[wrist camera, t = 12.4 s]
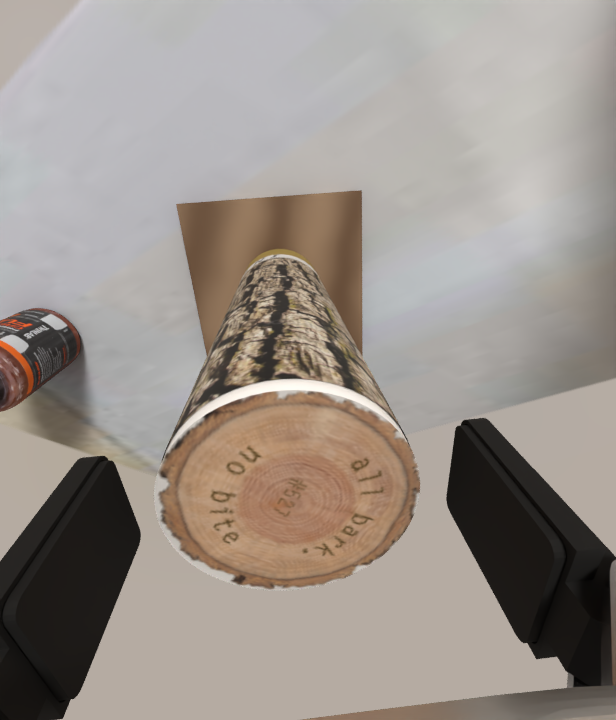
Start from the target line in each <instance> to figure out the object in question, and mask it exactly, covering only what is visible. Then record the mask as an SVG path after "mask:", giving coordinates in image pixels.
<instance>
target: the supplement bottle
mask: <svg viewBox="0 0 616 720" xmlns="http://www.w3.org/2000/svg"><path fill="white" fill-rule="evenodd" d="M79 351H80V338H79V334H78V333H77V330H76V329H75V327H74V326H73V325H72V323H70V322H69V321H68V320H67V319H66V318H65V317H63V316H62V315H60V314H58V313H56V312H55V311H51V310H48V309H41V308H34V309H29V310H25V311H22V312H19V313H17V314H14V315H13V316H10V317H8V318H6V319H3V320H1V321H0V412H1V411H5V410H8V409H10V408H12V407H14V406H16V405H18V404H19V403H20V402H22V401H23V400H24V399H26V398H27V397H28V396H30V395H31V394H32V393H33V392H35V391H36V390H37V389H38V388H40V387H41V386H42V385H44V384H45V383H46V382H47V381H49V380H50V379H51V378H53V377H54V376H55V375H56V374H58V373H59V372H60V371H62V370H63V369H64V368H65V367H67V366H68V365H69V364H70V363H71V362H72V361H73V360H74V359H75V358H76V357H77V355H78V354H79Z"/></svg>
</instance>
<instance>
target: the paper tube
mask: <svg viewBox="0 0 616 720" xmlns="http://www.w3.org/2000/svg"><path fill="white" fill-rule="evenodd" d="M419 493H420V477H419V470H418V466H417V462H416V459H415V457H414V454H413V452H412V450H411V448H410V445H409V443H408V440H407V438H406V436H405V434H404V432H403V431H402V429H401V427H400V425H399V423H398V421H397V420H396V418H395V416H394V414H393V412H392V410H391V409H390V407H389V405H388V403H387V401H386V399H385V397H384V396H383V394H382V392H381V390H380V388H379V386H378V385H377V383H376V381H375V379H374V377H373V375H372V374H371V372H370V370H369V368H368V366H367V364H366V362H365V361H364V359H363V357H362V355H361V353H360V351H359V350H358V348H357V346H356V344H355V342H354V340H353V339H352V337H351V335H350V333H349V331H348V329H347V327H346V326H345V324H344V322H343V320H342V318H341V316H340V315H339V313H338V311H337V309H336V307H335V305H334V304H333V302H332V300H331V298H330V296H329V294H328V293H327V291H326V289H325V287H324V285H323V283H322V281H321V280H320V278H319V276H318V274H317V273H316V271H315V269H314V267H313V266H312V265H311V263H310V262H309V261H308V260H307V259H306V258H305V257H303V256H302V255H300V254H299V253H296V252H294V251H291V250H287V249H273V250H269V251H266V252H264V253H262V254H260V255H259V256H257V257H256V258H255V259H254V260H253V261H252V262H251V263H250V264H249V265H248V267H247V269H246V271H245V273H244V275H243V277H242V279H241V282H240V283H239V286H238V288H237V290H236V292H235V295H234V297H233V299H232V301H231V304H230V306H229V308H228V310H227V313H226V315H225V317H224V319H223V322H222V324H221V326H220V328H219V331H218V333H217V335H216V337H215V340H214V342H213V344H212V346H211V349H210V351H209V353H208V355H207V358H206V360H205V362H204V365H203V367H202V369H201V371H200V374H199V376H198V378H197V380H196V383H195V385H194V387H193V389H192V392H191V394H190V396H189V398H188V401H187V403H186V405H185V407H184V410H183V412H182V414H181V416H180V419H179V421H178V423H177V425H176V428H175V430H174V432H173V434H172V437H171V439H170V441H169V443H168V446H167V448H166V450H165V453H164V456H163V459H162V462H161V465H160V468H159V470H158V473H157V477H156V482H155V488H154V504H155V510H156V515H157V519H158V521H159V524H160V527H161V529H162V531H163V533H164V534H165V536H166V538H167V539H168V541H169V542H170V544H171V545H172V546H173V547H174V549H175V550H176V551H177V552H178V553H179V554H180V555H181V556H182V557H183V558H185V559H186V560H187V561H188V562H189V563H191V564H192V565H194V566H195V567H197V568H198V569H200V570H201V571H203V572H205V573H206V574H209V575H211V576H213V577H215V578H217V579H220V580H222V581H225V582H228V583H231V584H235V585H239V586H243V587H248V588H254V589H261V590H298V589H305V588H311V587H316V586H321V585H325V584H328V583H332V582H335V581H338V580H340V579H343V578H346V577H348V576H350V575H352V574H355V573H356V572H358V571H360V570H362V569H364V568H366V567H367V566H368V565H370V564H372V563H373V562H375V561H376V560H377V559H379V558H380V557H381V556H383V555H384V554H385V553H386V552H387V551H388V550H389V549H390V548H392V546H393V545H394V544H395V543H396V542H397V541H398V540H399V539H400V537H401V536H402V535H403V533H404V532H405V530H406V529H407V527H408V525H409V524H410V522H411V520H412V517H413V515H414V513H415V510H416V507H417V503H418V499H419Z"/></svg>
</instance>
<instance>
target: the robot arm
mask: <svg viewBox="0 0 616 720" xmlns="http://www.w3.org/2000/svg"><path fill="white" fill-rule="evenodd" d="M447 505H448V508H449V511H450V513H451V515H452V517H453V518H454V520H455V522H456V524H457V526H458V528H459V530H460V531H461V533H462V535H463V537H464V539H465V541H466V543H467V545H468V546H469V548H470V550H471V552H472V554H473V555H474V557H475V559H476V561H477V563H478V565H479V567H480V569H481V570H482V572H483V574H484V576H485V578H486V579H487V582H488V584H489V585H490V587H491V589H492V591H493V593H494V595H495V596H496V598H497V600H498V602H499V604H500V606H501V608H502V610H503V611H504V613H505V615H506V617H507V619H508V621H509V623H510V624H511V626H512V628H513V630H514V632H515V634H516V635H517V637H518V638H519V640H520V641H521V642H523V643H528V645H529V647H530V648H531V650H532V652H533V654H534V656H535V658H536V659H540V658H549V657H558V659H559V660H560V662H561V663H562V665H563V667H564V669H565V670H566V671H567V672H568V680H567V688H564V689H554V690H544V691H534V692H525V693H514V694H504V695H495V696H487V697H479V698H471V699H463V700H454V701H447V702H438V703H430V704H422V705H414V706H405V707H398V708H389V709H381V710H374V711H365V712H357V713H350V714H342V715H334V716H326V717H318V718H310V719H303V720H616V557H615V556H614V555H613V554H612V552H611V551H610V550H609V549H608V548H607V547H606V546H605V545H604V544H603V543H602V542H601V541H600V539H599V538H598V537H596V535H595V534H594V533H593V532H592V531H591V530H590V529H589V528H588V527H587V526H586V524H584V522H583V521H582V520H581V519H580V518H579V517H578V516H577V515H576V514H575V512H573V510H572V509H571V508H570V507H569V506H568V505H567V504H566V503H565V502H564V501H563V500H562V498H560V496H559V495H558V494H557V493H556V492H555V491H554V490H553V489H552V488H551V487H550V486H549V484H548V483H547V482H546V481H545V480H544V479H543V478H542V477H541V476H540V475H539V474H538V473H537V472H536V470H535V469H533V468H532V467H531V466H530V465H529V464H528V462H527V461H526V460H525V459H524V458H523V457H522V456H521V455H520V454H519V453H518V452H517V451H516V449H515V448H514V447H513V446H512V445H511V444H510V443H509V442H508V441H507V440H506V439H505V438H504V437H503V435H502V434H501V433H500V432H499V431H498V430H497V429H496V428H495V427H494V426H493V425H492V424H491V423H490V421H489V420H487V419H485V418H479V419H469V420H464V421H463V422H462V423H461V426H457V427H456V430H455V438H454V445H453V452H452V459H451V467H450V474H449V482H448V489H447ZM140 537H141V534H140V529H139V526H138V524H137V521H136V518H135V516H134V513H133V510H132V508H131V505H130V502H129V500H128V497H127V495H126V492H125V489H124V487H123V484H122V481H121V479H120V476H119V473H118V471H117V468H116V466H115V464H114V462H113V461H109V460H108V459H107V458H106V457H105V456H96V457H86V458H80V459H79V460H77V462H76V463H75V464H74V465H73V467H72V468H71V469H70V470H69V472H68V473H67V474H66V476H65V477H64V478H63V480H62V481H61V482H60V484H59V485H58V486H57V488H56V489H55V490H54V491H53V493H52V494H51V495H50V497H49V498H48V499H47V501H46V502H45V504H44V505H43V506H42V507H41V509H40V510H39V511H38V513H37V514H36V515H35V516H34V518H33V519H32V521H31V522H30V523H29V524H28V526H27V527H26V528H25V530H24V531H23V532H22V534H21V535H20V536H19V537H18V539H17V540H16V541H15V543H14V544H13V545H12V547H11V548H10V549H9V551H8V552H7V553H6V555H5V556H4V557H3V558H2V560H1V561H0V720H57V719H63V717H64V714H65V712H66V709H67V707H68V705H69V702H70V700H71V699H74V698H75V697H76V696H77V695H78V694H79V692H80V690H81V688H82V686H83V683H84V681H85V678H86V676H87V673H88V671H89V668H90V666H91V663H92V661H93V658H94V656H95V653H96V651H97V649H98V646H99V643H100V641H101V639H102V636H103V634H104V631H105V628H106V626H107V623H108V621H109V619H110V616H111V613H112V611H113V609H114V606H115V603H116V601H117V599H118V596H119V594H120V591H121V589H122V586H123V584H124V581H125V579H126V576H127V573H128V571H129V569H130V566H131V564H132V561H133V559H134V556H135V554H136V551H137V549H138V546H139V543H140Z"/></svg>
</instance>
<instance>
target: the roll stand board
mask: <svg viewBox="0 0 616 720" xmlns="http://www.w3.org/2000/svg"><path fill="white" fill-rule="evenodd" d="M176 205H177V210H178V215H179V220H180V225H181V230H182V235H183V240H184V245H185V249H186V254H187V259H188V264H189V269H190V274H191V279H192V284H193V289H194V294H195V299H196V304H197V309H198V314H199V319H200V324H201V328H202V333H203V338H204V343H205V348H206V353H207V355H208V353H209V351H210V349H211V346H212V344H213V342H214V340H215V337H216V335H217V333H218V331H219V328H220V326H221V324H222V322H223V319H224V317H225V315H226V313H227V310H228V308H229V306H230V304H231V301H232V299H233V297H234V295H235V292H236V290H237V288H238V286H239V283H240V282H241V279H242V277H243V275H244V273H245V271H246V269H247V267H248V265H249V264H250V263H251V262H252V261H253V260H254V259H255V258H256V257H257V256H259V255H260V254H262V253H264V252H266V251H269V250H273V249H287V250H291V251H294V252H296V253H299V254H300V255H302V256H303V257H305V258H306V259H307V260H308V261H309V262H310V263H311V265H312V266H313V267H314V269H315V271H316V273H317V274H318V276H319V278H320V280H321V281H322V283H323V285H324V287H325V289H326V291H327V293H328V294H329V296H330V298H331V300H332V302H333V304H334V305H335V307H336V309H337V311H338V313H339V315H340V316H341V318H342V320H343V322H344V324H345V326H346V327H347V329H348V331H349V333H350V335H351V337H352V339H353V340H354V342H355V344H356V346H357V348H358V350H359V351H360V353H361V355H362V191H348V192H335V193H321V194H307V195H294V196H280V197H267V198H253V199H239V200H226V201H212V202H199V203H185V204H176Z"/></svg>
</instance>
